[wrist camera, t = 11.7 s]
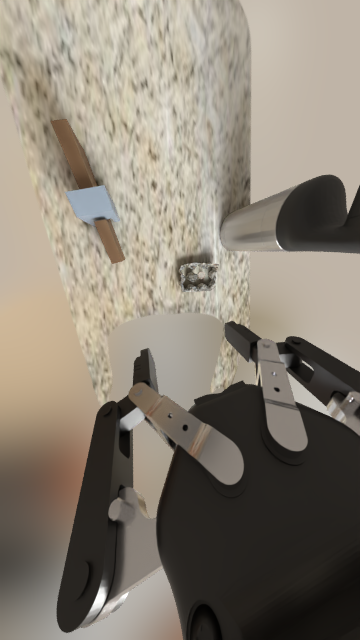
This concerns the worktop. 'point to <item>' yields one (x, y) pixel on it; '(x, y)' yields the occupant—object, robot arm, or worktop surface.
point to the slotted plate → (86, 183)
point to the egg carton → (201, 275)
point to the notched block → (92, 204)
